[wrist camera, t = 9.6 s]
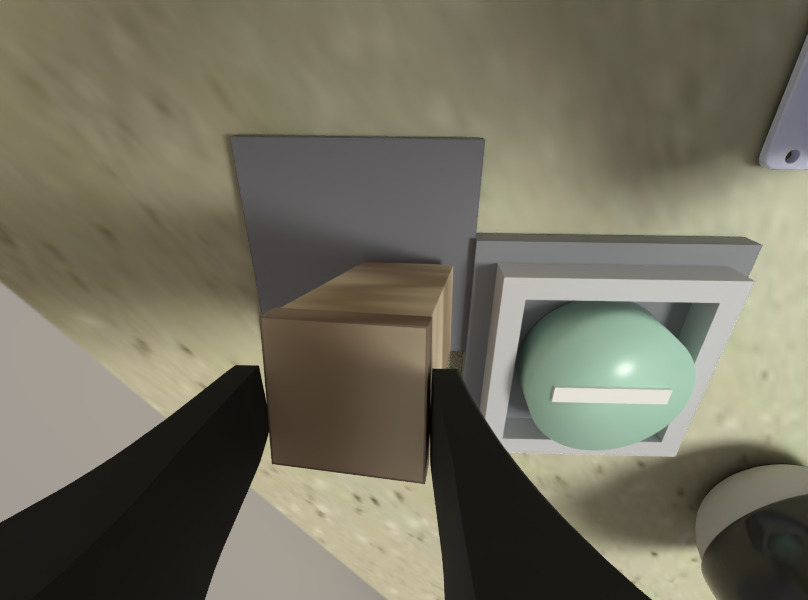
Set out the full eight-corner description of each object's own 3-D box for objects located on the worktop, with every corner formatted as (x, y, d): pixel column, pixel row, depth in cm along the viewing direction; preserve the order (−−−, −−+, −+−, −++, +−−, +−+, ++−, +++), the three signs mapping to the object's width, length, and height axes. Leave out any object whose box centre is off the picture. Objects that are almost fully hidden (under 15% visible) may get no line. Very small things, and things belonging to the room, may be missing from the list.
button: (684, 297, 18) (723, 329, 16) (640, 414, 22) (668, 454, 19) (527, 295, 18) (544, 325, 16) (507, 411, 22) (519, 451, 19)
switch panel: (745, 237, 18) (791, 258, 16) (663, 434, 24) (688, 470, 22) (474, 233, 18) (482, 253, 16) (456, 429, 24) (460, 464, 22)
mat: (482, 137, 16) (484, 139, 16) (463, 344, 21) (465, 351, 21) (235, 135, 17) (229, 137, 16) (271, 340, 21) (267, 347, 21)
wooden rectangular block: (454, 264, 18) (428, 326, 9) (451, 352, 19) (424, 483, 10) (363, 260, 18) (259, 316, 10) (364, 346, 19) (272, 463, 11)
